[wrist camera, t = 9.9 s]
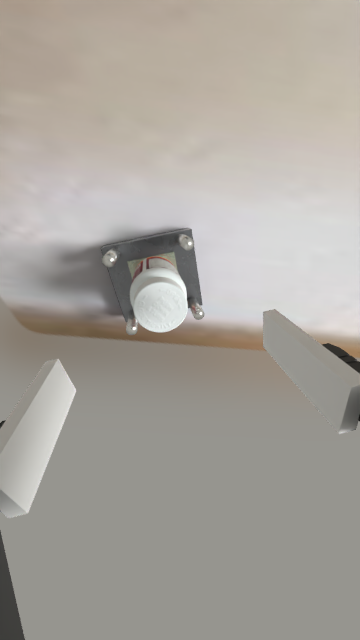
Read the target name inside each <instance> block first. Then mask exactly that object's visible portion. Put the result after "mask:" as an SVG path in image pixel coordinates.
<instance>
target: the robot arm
mask: <svg viewBox="0 0 360 640" xmlns="http://www.w3.org/2000/svg"><path fill="white" fill-rule="evenodd" d="M263 347H264V348H265V349H266V351H267V352H268V353H269V354H270V355H271V356H272V358H273V359H274V360H275V361H276V362H277V363H278V364H279V366H280V367H281V368H282V369H283V370H284V371H285V373H286V374H287V375H288V376H289V377H290V378H291V380H292V381H293V382H294V383H295V384H296V385H297V387H298V388H299V389H300V390H301V391H302V392H303V393H304V395H306V397H307V398H308V399H309V400H310V402H311V403H312V404H313V405H314V406H315V407H316V408H317V410H318V411H319V412H320V413H321V414H322V416H324V418H325V419H326V420H327V421H328V423H330V425H331V426H332V427H333V428H334V429H335V431H336V432H337V433H338V434H341V433H345V432H349V431H353V430H356V427H357V424H358V421H360V362H359V361H357V360H356V359H355V358H354V357H352V356H350V355H349V354H348V353H346V352H345V351H344V350H342V349H341V348H339V347H336V346H334V345H331V344H329V343H327V344H323V345H321V344H320V343H319V342H317V341H316V340H315V339H313V338H312V337H311V336H309V335H308V334H307V333H306V332H304V331H303V330H302V329H300V328H299V327H298V326H296V325H295V324H294V323H292V322H291V321H290V320H288V319H287V318H286V317H284V316H283V315H282V314H281V313H279V312H278V311H277V310H275V309H274V310H269V311H265V312H263ZM75 393H76V389H75V387H74V386H73V384H72V382H71V380H70V379H69V377H68V375H67V373H66V372H65V370H64V368H63V366H62V364H61V363H60V361H59V359H54V360H50V361H46V362H45V364H44V365H43V366H42V368H41V370H40V371H39V372H38V374H37V375H36V377H35V378H34V380H33V381H32V383H31V384H30V386H29V387H28V389H27V390H26V391H25V393H24V395H23V396H22V397H21V399H20V400H19V402H18V403H17V405H16V406H15V408H14V409H13V411H12V412H11V414H10V415H9V417H8V418H7V420H5V421H2V422H1V423H0V512H1V513H3V514H4V515H6V517H8V518H12V517H15V516H19V515H23V514H27V513H28V511H29V509H30V506H31V504H32V501H33V499H34V496H35V494H36V491H37V489H38V486H39V484H40V481H41V478H42V476H43V474H44V471H45V469H46V466H47V463H48V461H49V459H50V456H51V453H52V451H53V448H54V446H55V443H56V441H57V438H58V436H59V433H60V431H61V428H62V426H63V423H64V421H65V418H66V416H67V413H68V410H69V408H70V405H71V403H72V400H73V398H74V395H75ZM0 640H25V639H24V634H23V630H22V626H21V621H20V617H19V613H18V608H17V604H16V599H15V594H14V591H13V586H12V581H11V576H10V572H9V568H8V563H7V559H6V555H5V550H4V545H3V541H2V536H1V532H0Z"/></svg>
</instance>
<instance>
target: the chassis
mask: <svg viewBox="0 0 360 640" xmlns="http://www.w3.org/2000/svg"><path fill="white" fill-rule="evenodd" d="M101 251H102V253H103V257H102V263H103V264H104V265H105V266H106V267H107V268H108V271H109V274H110V277H111V280H112V283H113V286H114V289H115V292H116V295H117V298H118V301H119V304H120V307H121V309H122V312H123V315H124V318H125V321H126V322H127V327H126V332H127V333H128V334H129V335H134V334H136V332H137V326H138V321H137V319H136V318H135V315H134V311H133V307H132V305H131V301H130V288H131V284H132V279H133V274H134V271H135V269H136V267H137V265H138V264H139V263H140V262H141V261H142V260H144V259H146V258H148V257H152V256H159V257H163V258H165V259H167V260H169V261H170V262H171V263H172V264H173V265H174V267H175V268H176V270H177V272H178V273H179V275H180V277H181V279H182V280H183V282H184V284H185V287H186V291H187V304H188V308H190V309H191V311H192V313H193V316H194V318H195V319H197V320H200V319H202V318H203V317H204V312H203V310H202V308H201V307H200V305H202V299H201V292H200V285H199V278H198V271H197V264H196V257H195V251H194V241H193V237H192V230H191V229H190V228H186V229H181V230H176V231H172V232H167V233H162V234H157V235H152V236H148V237H143V238H138V239H133V240H129V241H124V242H119V243H114V244H109V245H105V246H103V247H102V248H101Z"/></svg>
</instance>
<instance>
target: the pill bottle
mask: <svg viewBox="0 0 360 640" xmlns="http://www.w3.org/2000/svg"><path fill="white" fill-rule="evenodd" d="M130 301H131V305H132V307H133V311H134V315H135V318H136V319H137V321H138V322H139V324H140V325H141V326H143V327H144V328H146V329H148V330H150V331H153V332H167V331H170V330H172V329H174V328H176V327H177V326H179V325H180V324H181V323H182V321H183V320H184V318H185V316H186V314H187V309H188V304H187V291H186V287H185V284H184V282H183V280H182V279H181V277H180V275H179V273H178V272H177V270H176V268H175V267H174V265H173V264H172V263H171V262H170V261H169V260H167V259H165V258H163V257H159V256H152V257H148V258H146V259H144V260H142V261H141V262H140V263H139V264H138V265H137V267H136V269H135V271H134V274H133V279H132V284H131V288H130Z"/></svg>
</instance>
